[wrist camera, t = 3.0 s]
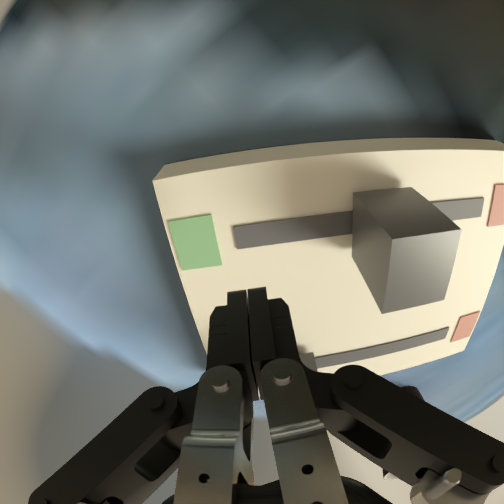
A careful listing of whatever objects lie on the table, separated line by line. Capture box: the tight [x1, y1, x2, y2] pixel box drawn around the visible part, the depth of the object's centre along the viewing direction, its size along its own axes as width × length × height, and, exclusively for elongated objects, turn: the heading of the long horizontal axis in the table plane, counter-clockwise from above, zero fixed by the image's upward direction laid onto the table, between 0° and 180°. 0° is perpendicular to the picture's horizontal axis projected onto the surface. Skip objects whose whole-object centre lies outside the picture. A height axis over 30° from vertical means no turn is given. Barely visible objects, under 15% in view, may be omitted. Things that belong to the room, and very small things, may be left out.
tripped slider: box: [352, 187, 462, 314], centre depth 15 cm, size 4×4×5 cm
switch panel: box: [152, 138, 504, 396], centre depth 21 cm, size 24×20×3 cm
